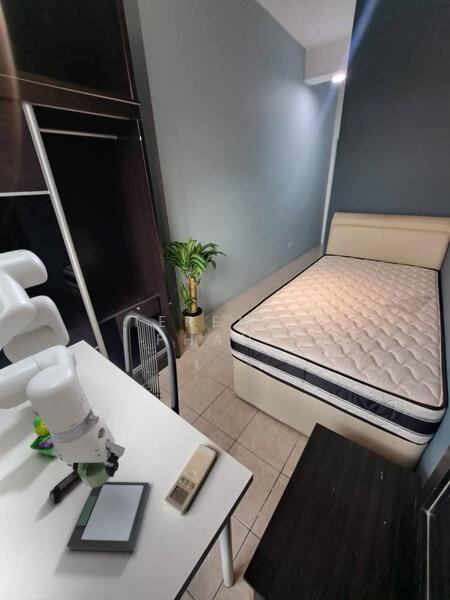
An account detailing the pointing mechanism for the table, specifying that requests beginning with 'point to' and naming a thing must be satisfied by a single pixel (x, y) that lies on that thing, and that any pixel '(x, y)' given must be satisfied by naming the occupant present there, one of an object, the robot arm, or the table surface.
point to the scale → (111, 517)
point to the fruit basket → (42, 438)
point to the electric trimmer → (63, 486)
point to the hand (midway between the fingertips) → (98, 469)
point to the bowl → (93, 473)
